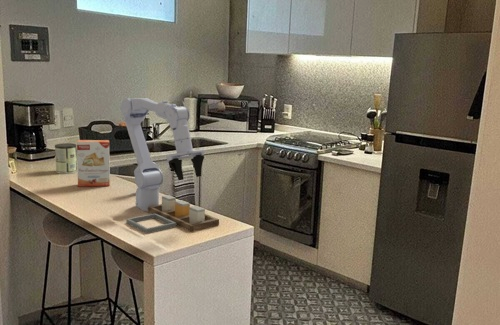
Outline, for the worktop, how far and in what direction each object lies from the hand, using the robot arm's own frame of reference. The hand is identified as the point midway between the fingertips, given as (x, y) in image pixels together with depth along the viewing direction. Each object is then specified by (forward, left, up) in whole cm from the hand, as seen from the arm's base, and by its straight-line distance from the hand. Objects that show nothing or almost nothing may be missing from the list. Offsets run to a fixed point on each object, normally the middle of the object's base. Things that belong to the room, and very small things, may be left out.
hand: (190, 178), depth 168 cm
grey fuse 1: (-14, +1, -16) cm, 22 cm away
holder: (-5, +1, -17) cm, 18 cm away
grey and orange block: (-5, +1, -16) cm, 17 cm away
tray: (-5, -12, -17) cm, 22 cm away
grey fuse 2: (+4, +1, -16) cm, 16 cm away
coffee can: (-107, -1, -17) cm, 109 cm away
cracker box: (-72, -2, -17) cm, 74 cm away
